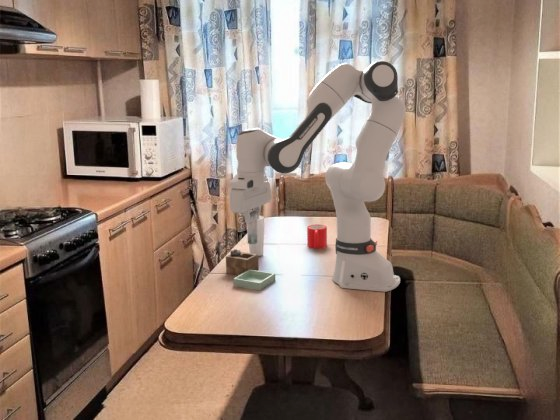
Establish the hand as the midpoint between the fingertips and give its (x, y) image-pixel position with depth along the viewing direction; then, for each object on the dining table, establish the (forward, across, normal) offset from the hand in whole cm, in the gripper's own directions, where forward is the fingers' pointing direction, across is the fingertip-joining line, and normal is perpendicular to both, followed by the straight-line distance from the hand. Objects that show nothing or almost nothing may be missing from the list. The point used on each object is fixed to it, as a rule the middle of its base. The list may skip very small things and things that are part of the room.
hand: (252, 221), depth 189 cm
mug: (+21, -46, +2) cm, 51 cm away
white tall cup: (+22, -27, -15) cm, 38 cm away
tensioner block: (+22, -8, -10) cm, 25 cm away
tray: (+22, 0, 0) cm, 22 cm away
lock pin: (+7, 0, 0) cm, 7 cm away
